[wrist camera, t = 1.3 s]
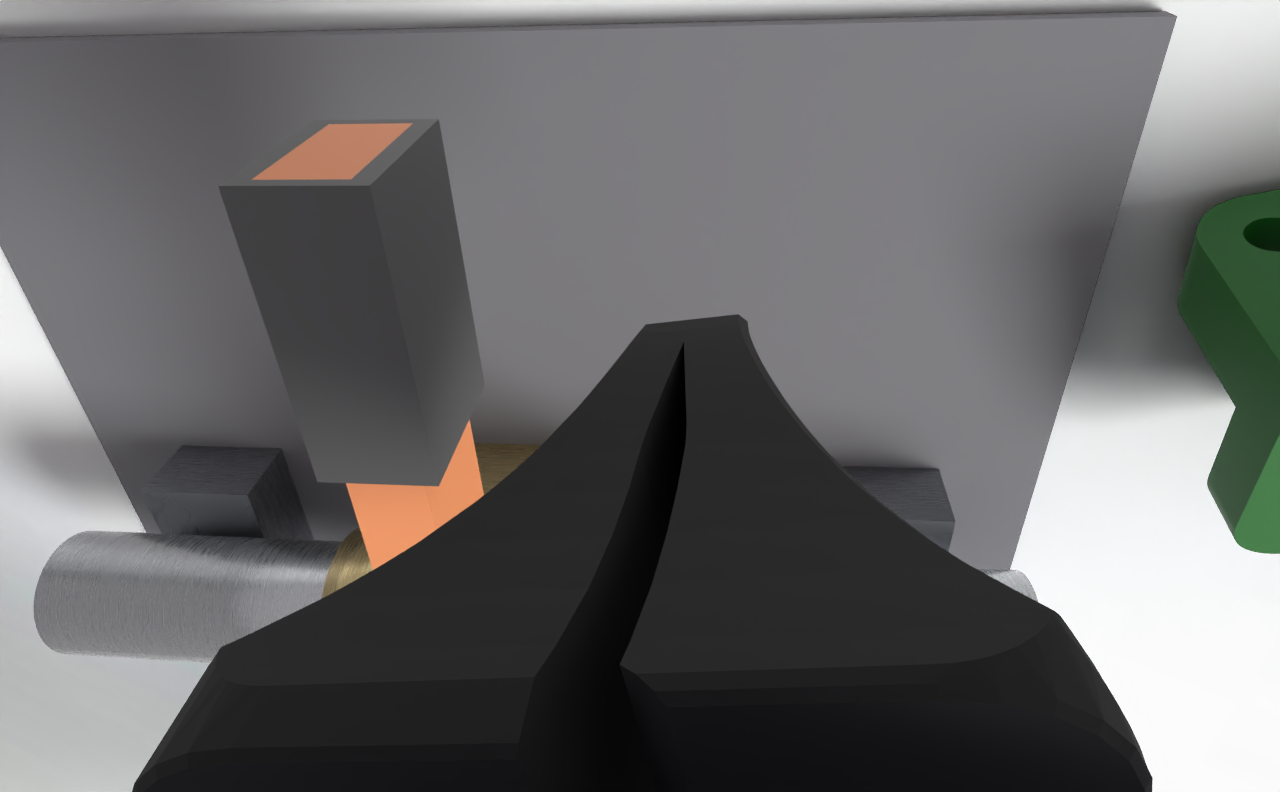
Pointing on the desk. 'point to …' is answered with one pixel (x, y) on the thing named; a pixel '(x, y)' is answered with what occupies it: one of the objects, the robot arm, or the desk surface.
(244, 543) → the pipe and valve
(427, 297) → the lever
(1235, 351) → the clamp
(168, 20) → the desk surface
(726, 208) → the pipe mat
